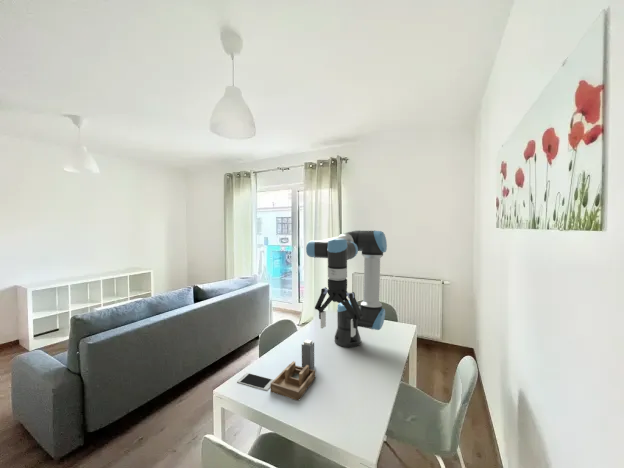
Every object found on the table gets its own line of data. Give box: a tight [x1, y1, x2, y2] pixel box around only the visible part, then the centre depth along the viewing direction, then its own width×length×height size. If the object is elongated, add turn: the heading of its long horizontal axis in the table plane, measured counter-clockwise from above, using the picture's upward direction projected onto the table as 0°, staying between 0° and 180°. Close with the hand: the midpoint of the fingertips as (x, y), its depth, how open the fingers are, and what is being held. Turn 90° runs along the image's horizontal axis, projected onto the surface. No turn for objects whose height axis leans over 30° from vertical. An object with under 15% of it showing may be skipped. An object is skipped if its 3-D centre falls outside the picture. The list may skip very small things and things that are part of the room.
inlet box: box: [270, 360, 316, 401], centre depth 110 cm, size 16×13×6 cm
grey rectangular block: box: [301, 339, 315, 370], centre depth 123 cm, size 4×4×13 cm
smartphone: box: [236, 372, 274, 392], centre depth 112 cm, size 7×16×1 cm, turn 68°
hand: (337, 331), depth 101 cm, fingers open, 13 cm apart
